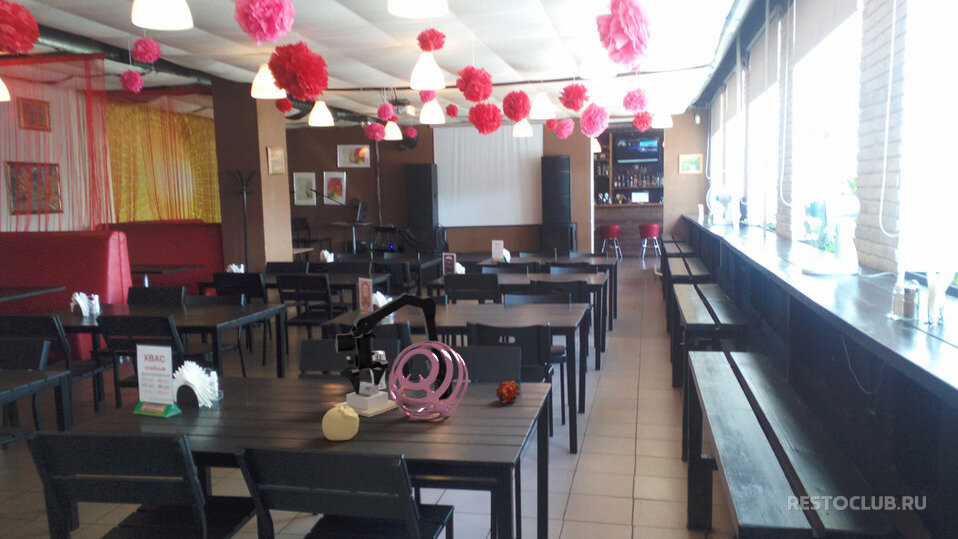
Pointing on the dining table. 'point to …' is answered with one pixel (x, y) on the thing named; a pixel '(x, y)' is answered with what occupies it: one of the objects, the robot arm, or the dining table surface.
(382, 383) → the beer glass
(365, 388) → the grey wooden block
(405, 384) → the pink openwork sphere
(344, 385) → the dining table surface
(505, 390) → the dragon fruit
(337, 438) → the sculpture
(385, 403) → the cream square frame
